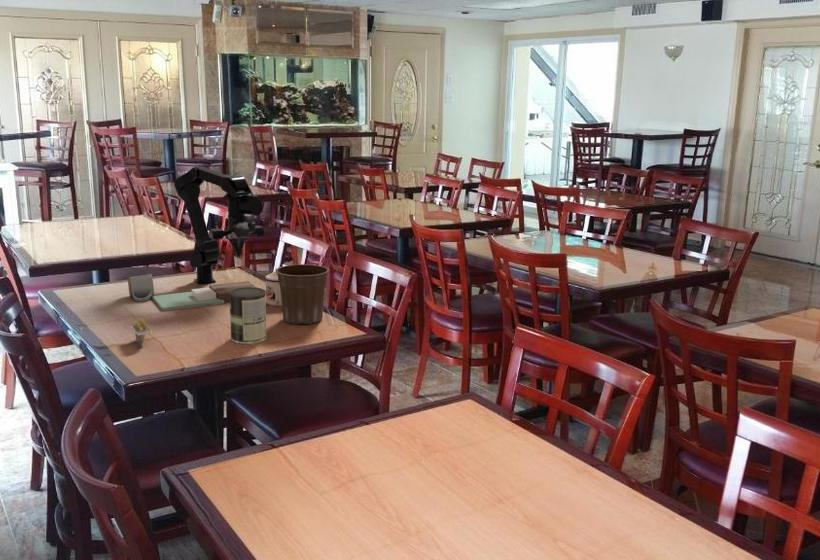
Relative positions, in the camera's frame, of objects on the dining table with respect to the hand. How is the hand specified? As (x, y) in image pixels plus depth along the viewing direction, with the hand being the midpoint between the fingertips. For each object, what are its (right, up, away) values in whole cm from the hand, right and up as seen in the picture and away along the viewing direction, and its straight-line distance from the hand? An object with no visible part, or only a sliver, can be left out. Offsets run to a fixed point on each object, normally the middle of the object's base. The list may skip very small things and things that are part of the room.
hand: (238, 256), depth 275 cm
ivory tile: (-9, -14, -11) cm, 20 cm away
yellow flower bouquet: (-15, -27, -56) cm, 64 cm away
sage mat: (-14, -15, -13) cm, 25 cm away
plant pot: (+27, -21, -31) cm, 46 cm away
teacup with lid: (+18, -16, -14) cm, 28 cm away
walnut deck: (0, -14, -6) cm, 15 cm away
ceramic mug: (-30, -15, -10) cm, 35 cm away
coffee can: (+14, -25, -50) cm, 58 cm away
